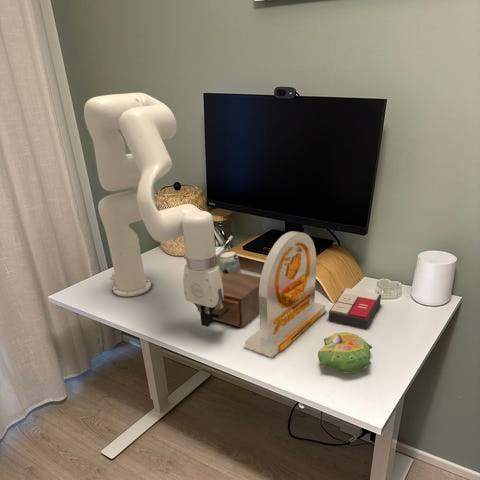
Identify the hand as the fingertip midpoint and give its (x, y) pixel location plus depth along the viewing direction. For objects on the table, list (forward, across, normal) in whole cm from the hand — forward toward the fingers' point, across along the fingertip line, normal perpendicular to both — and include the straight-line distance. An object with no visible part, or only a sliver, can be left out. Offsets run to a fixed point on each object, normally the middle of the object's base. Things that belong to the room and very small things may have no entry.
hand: (207, 323), depth 123 cm
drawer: (+3, 0, +11) cm, 11 cm away
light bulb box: (+4, -20, +29) cm, 35 cm away
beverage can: (+4, -10, +28) cm, 30 cm away
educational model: (+4, +37, +7) cm, 38 cm away
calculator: (+4, +30, +31) cm, 43 cm away
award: (+4, +18, +13) cm, 22 cm away
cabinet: (+4, 0, +15) cm, 15 cm away
